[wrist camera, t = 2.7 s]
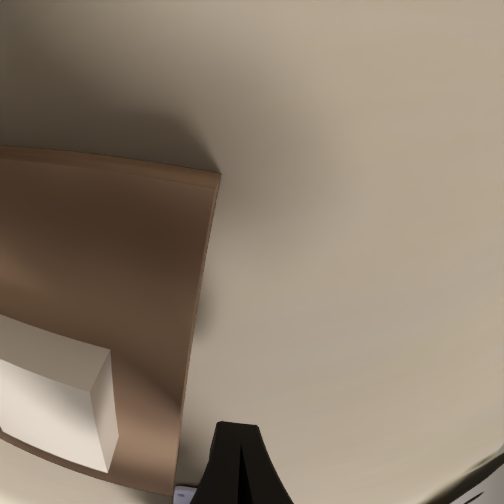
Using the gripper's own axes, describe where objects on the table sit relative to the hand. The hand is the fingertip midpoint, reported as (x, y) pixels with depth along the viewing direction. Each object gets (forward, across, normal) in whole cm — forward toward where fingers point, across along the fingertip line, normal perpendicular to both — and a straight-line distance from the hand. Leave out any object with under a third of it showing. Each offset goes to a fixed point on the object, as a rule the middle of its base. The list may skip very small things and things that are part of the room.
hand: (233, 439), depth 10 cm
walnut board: (+4, +9, 0) cm, 10 cm away
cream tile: (+1, +7, 0) cm, 7 cm away
